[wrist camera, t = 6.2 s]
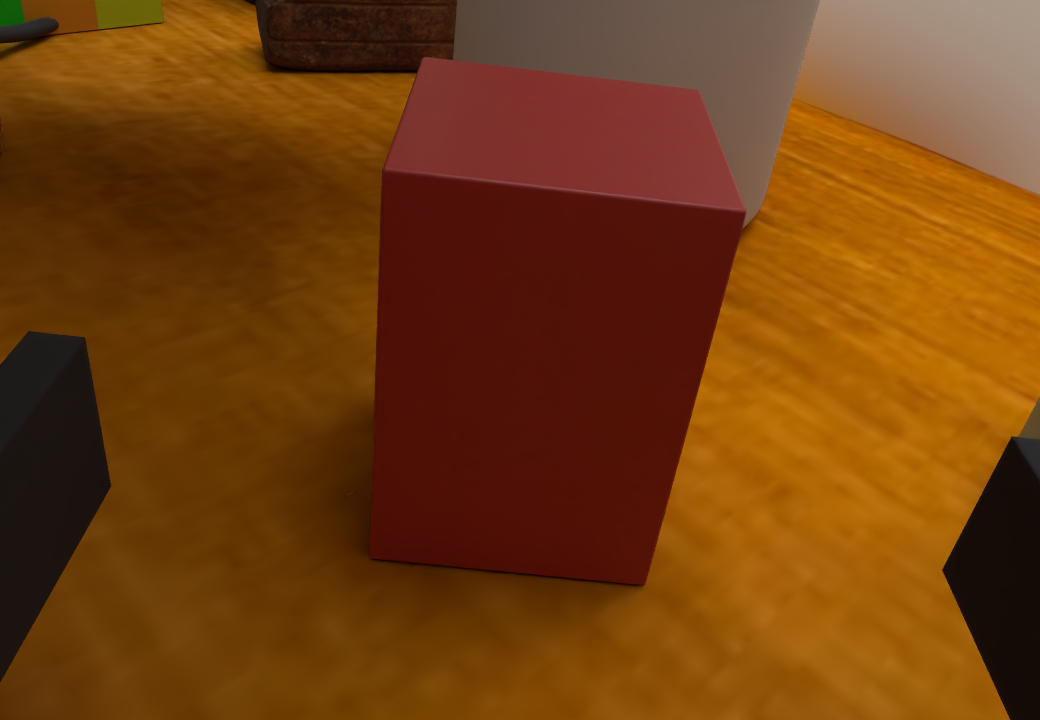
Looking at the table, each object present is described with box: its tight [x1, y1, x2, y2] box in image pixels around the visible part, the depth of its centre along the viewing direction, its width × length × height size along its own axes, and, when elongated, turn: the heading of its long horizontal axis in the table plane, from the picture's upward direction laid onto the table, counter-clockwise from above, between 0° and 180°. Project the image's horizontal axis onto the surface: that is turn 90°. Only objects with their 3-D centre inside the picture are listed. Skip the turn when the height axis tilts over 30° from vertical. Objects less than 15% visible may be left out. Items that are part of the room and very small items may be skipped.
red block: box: [370, 57, 747, 585], centre depth 20 cm, size 6×6×9 cm
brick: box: [256, 0, 457, 71], centre depth 46 cm, size 11×4×5 cm, turn 109°
